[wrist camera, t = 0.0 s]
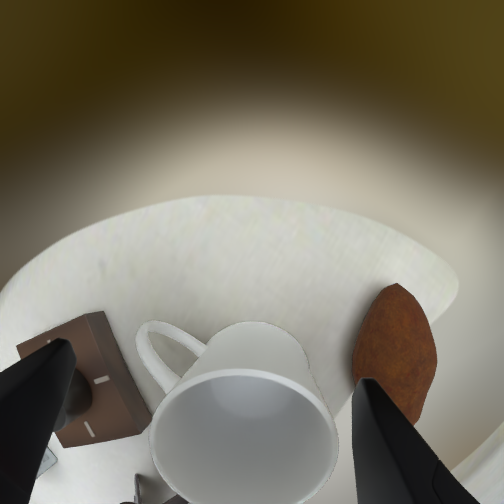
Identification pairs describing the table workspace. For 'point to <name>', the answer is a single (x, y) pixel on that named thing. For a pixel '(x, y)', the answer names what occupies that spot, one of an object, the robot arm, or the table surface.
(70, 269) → the table surface
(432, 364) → the potato
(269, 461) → the mug
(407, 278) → the table surface
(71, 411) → the knob
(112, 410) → the panel
